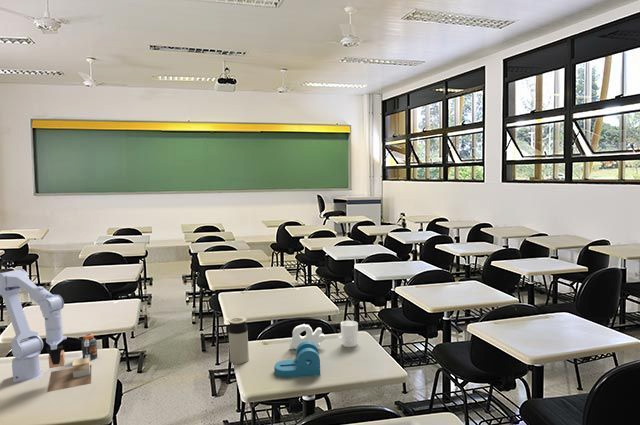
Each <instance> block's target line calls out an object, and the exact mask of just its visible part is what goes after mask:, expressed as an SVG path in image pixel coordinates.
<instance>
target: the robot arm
mask: <svg viewBox="0 0 640 425" xmlns="http://www.w3.org/2000/svg"><path fill="white" fill-rule="evenodd" d="M21 290H24V291H25V292H26V293H28V294H29V298H30V299H31V300H32V301H33V302H34V303H36V304H37V305H39V309H40V311H41V314H42V317H43V318H44V326H45V327H44V328H45V337H46V338H45V343H46V344H48V346H47V347H46V348H45V349H46V350H45V351H46V353H48V356H49V355H50V357H51V360H52V363H53V365H56V364H59V363H60V354H61V351H62V350H63V348H64V345H63V344H64V342H65V340H67V338H68V337H67V336H66V335H64V332H63V331H64V330H63V319H62V309H64V306H65V301H64V299H63V297H62V296H61V295H60V294H52V293H51V292H50V291H48V290H47V289H46V288H45V287H44V286H39V285H38V286H37V285H36V284H35V283H34V282H33V281H32V280H31V279H30V278H29V274H28V272H27V271H26V270H25V269H23V268H19V269H15V270H10V271H5V272H0V296H1V297H2V298H3V299H2V300H3V302H4V305H5V307H6V311H7V313H8V316H9V319H10V322H11V325H12V328H13V331H14V333H15V336H14V337H13V338H12V340H11V341H10V346H11V353H12V355H13V358H12V359H11V360H12V361H11V369H12V380H13V383H17V382H23V381H24V382H25V381H30V380H34V379H40V378H42V375H43V374H42V373H43V370H41V363H40V354H41V351H42V350H43V348H44V342H43V339H42V338H41V337H40V335H39V333H38V332H37V331H33V330H32V329H31V328H30V325H29V322H28V320H27V317H26V314H25V311H24V309H23V306H22V303H21V300H20V297H19V292H20V291H21Z"/></svg>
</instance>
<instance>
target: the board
mask: <svg viewBox="0 0 640 425" xmlns="http://www.w3.org/2000/svg"><path fill="white" fill-rule="evenodd" d="M90 384H92V364H90V375H86V376H80V377H75V378H73V367H72V368H71V367H70V368H65V369H60V370H55V371H51V372H50V376H49V381H48V387H47V392H46V393H48V392H49V393H50V392H54V391H60V390H64V389H65V390H66V389H69V388H74V387H79V386H84V385H90Z"/></svg>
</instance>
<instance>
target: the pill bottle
mask: <svg viewBox="0 0 640 425" xmlns="http://www.w3.org/2000/svg"><path fill="white" fill-rule="evenodd" d="M82 336H83V339H82V341H81V354H82V359H84V358H89V362H90V361H94V360H96V359H98V346H97V343H98V342H97V338H95V337H94V333H86V334H85V333H84V335H82Z"/></svg>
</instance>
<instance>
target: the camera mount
mask: <svg viewBox="0 0 640 425" xmlns="http://www.w3.org/2000/svg"><path fill="white" fill-rule="evenodd" d="M273 368H274V369H273V370H274V375H275V376H276V377H279V378H282V379H283V378H284V379H285V378H286V379H287V378H288V379H290V378H303V377H304V378H305V377H318V376H321V359H320V354H319V349H317V346H316V345H315V344H314V343H313V342H310V341H304V342H302V343H300V344H299V345H298V347H297V349H295V358H293V359H284V360H280V361H277V362H276V363H275V364H274V365H273Z"/></svg>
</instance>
